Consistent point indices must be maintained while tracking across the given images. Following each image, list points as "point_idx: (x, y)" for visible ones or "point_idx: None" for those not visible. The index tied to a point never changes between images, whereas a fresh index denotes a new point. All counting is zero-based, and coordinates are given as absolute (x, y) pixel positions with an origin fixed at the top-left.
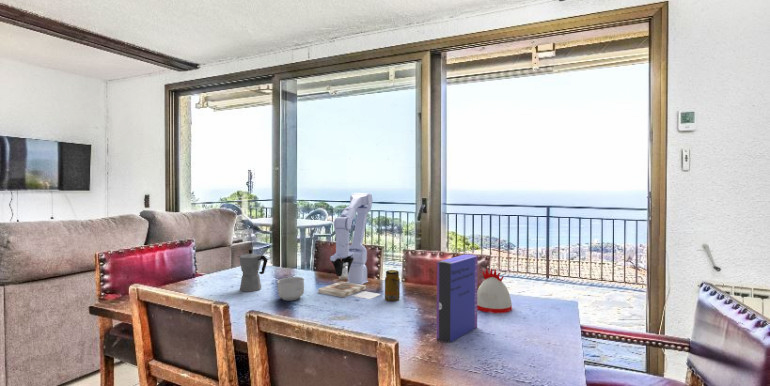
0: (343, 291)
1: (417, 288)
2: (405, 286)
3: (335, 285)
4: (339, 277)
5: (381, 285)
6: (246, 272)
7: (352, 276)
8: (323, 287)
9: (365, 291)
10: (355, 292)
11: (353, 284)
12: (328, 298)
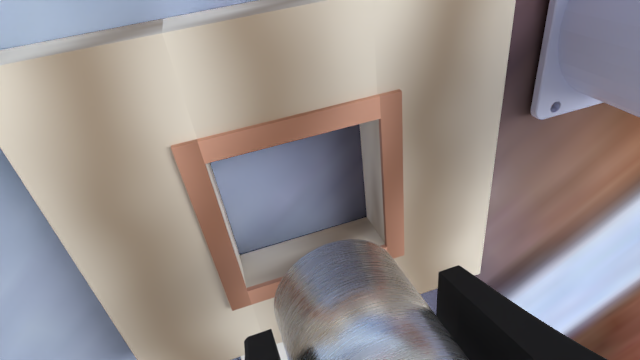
0: (193, 338)
1: (600, 351)
2: (624, 301)
3: (303, 92)
4: (280, 322)
5: (612, 212)
6: None
7: (638, 74)
8: (85, 63)
9: None
10: None
11: (457, 189)
12: (11, 296)
